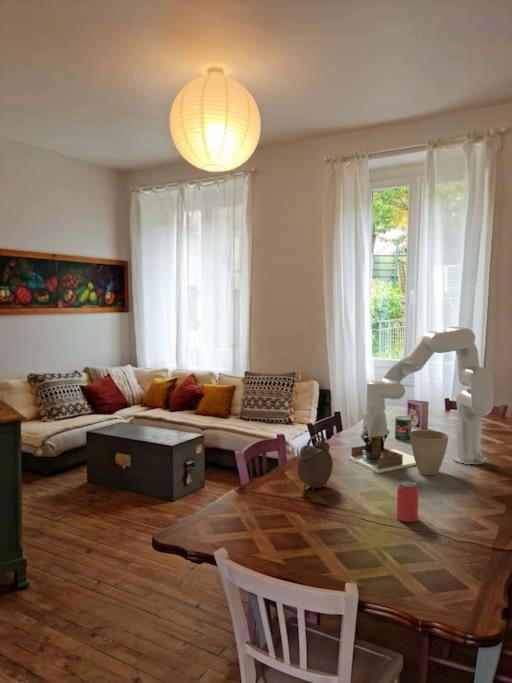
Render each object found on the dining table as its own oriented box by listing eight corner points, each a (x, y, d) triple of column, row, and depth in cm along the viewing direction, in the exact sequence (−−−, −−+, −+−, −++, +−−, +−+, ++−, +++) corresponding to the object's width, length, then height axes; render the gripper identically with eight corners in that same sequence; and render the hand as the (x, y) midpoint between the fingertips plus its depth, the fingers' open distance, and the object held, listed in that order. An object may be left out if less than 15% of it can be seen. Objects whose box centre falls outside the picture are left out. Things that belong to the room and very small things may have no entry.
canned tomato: (409, 437, 258) (409, 416, 257) (412, 441, 251) (413, 420, 250) (393, 436, 259) (394, 415, 258) (396, 441, 251) (396, 419, 250)
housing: (402, 464, 212) (402, 454, 212) (379, 468, 207) (379, 459, 206) (373, 452, 229) (374, 443, 228) (351, 456, 223) (351, 447, 223)
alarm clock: (318, 480, 198) (319, 430, 196) (333, 485, 193) (334, 434, 191) (294, 490, 188) (294, 437, 186) (309, 495, 183) (309, 441, 181)
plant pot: (453, 472, 207) (454, 434, 206) (437, 481, 197) (439, 441, 195) (418, 463, 218) (419, 427, 216) (402, 472, 207) (403, 434, 205)
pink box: (405, 426, 280) (406, 399, 279) (415, 424, 284) (416, 398, 282) (419, 431, 270) (420, 403, 269) (430, 429, 273) (431, 402, 272)
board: (424, 463, 218) (425, 454, 217) (377, 473, 206) (378, 463, 206) (394, 451, 235) (394, 442, 234) (349, 459, 223) (349, 450, 223)
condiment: (377, 454, 222) (377, 427, 221) (386, 460, 214) (386, 433, 213) (361, 456, 220) (362, 429, 219) (370, 462, 212) (371, 434, 211)
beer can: (414, 525, 159) (415, 488, 158) (393, 520, 163) (394, 484, 162) (419, 517, 165) (421, 481, 164) (399, 512, 168) (400, 477, 167)
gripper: (385, 406, 222) (384, 446, 224) (353, 410, 215) (353, 452, 216) (397, 409, 216) (396, 450, 217) (365, 414, 208) (364, 456, 210)
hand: (374, 451), depth 217 cm, fingers closed on condiment, 6 cm apart
